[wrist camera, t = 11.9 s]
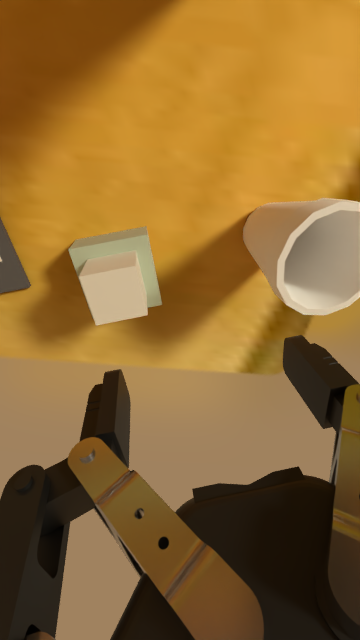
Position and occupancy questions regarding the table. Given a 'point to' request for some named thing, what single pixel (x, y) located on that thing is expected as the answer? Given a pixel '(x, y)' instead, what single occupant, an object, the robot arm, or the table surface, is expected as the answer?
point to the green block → (120, 244)
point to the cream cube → (114, 287)
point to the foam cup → (308, 252)
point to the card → (10, 265)
